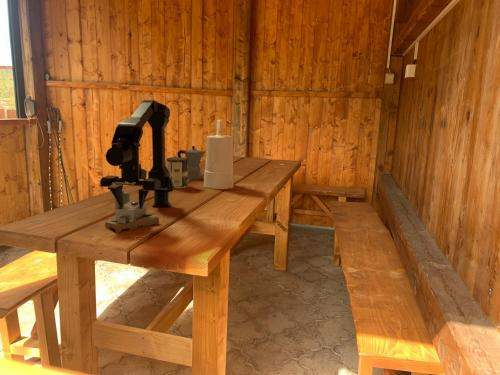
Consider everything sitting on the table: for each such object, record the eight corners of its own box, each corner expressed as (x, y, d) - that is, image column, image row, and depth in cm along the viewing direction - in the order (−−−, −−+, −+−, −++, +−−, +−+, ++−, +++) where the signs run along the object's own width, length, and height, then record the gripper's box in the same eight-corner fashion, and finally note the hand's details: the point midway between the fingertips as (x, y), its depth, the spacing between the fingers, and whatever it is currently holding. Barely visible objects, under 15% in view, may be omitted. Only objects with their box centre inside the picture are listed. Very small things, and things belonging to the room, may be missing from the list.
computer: (147, 219, 139) (147, 210, 138) (159, 225, 133) (159, 215, 133) (104, 228, 128) (104, 218, 127) (116, 234, 122) (115, 224, 122)
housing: (130, 223, 123) (130, 209, 122) (112, 222, 124) (112, 208, 123) (148, 212, 137) (148, 200, 136) (132, 211, 137) (131, 198, 136)
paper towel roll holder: (237, 188, 194) (239, 121, 187) (208, 189, 189) (209, 120, 182) (227, 182, 208) (229, 119, 201) (200, 183, 202) (201, 118, 196)
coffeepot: (204, 176, 223) (204, 145, 219) (205, 179, 214) (206, 147, 210) (176, 176, 220) (176, 144, 216) (177, 179, 211) (177, 146, 207)
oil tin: (116, 212, 144) (116, 188, 143) (130, 212, 145) (130, 188, 143) (114, 216, 140) (113, 191, 138) (128, 216, 140) (128, 191, 138)
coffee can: (182, 183, 200) (182, 156, 198) (191, 187, 192) (191, 159, 189) (163, 185, 195) (163, 157, 192) (171, 189, 186) (171, 160, 184)
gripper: (166, 160, 133) (166, 204, 136) (115, 156, 135) (116, 200, 139) (153, 164, 122) (154, 212, 125) (98, 161, 124) (100, 208, 128)
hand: (131, 207), depth 129 cm, fingers open, 7 cm apart
